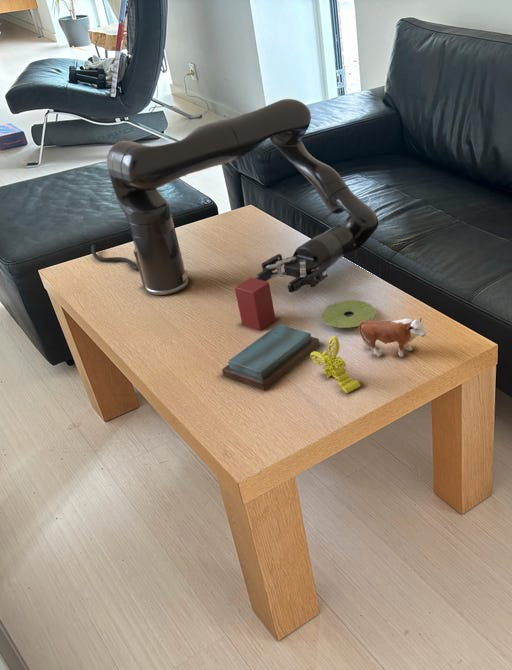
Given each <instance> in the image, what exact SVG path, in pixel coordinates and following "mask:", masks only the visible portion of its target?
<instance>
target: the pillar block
mask: <svg viewBox="0 0 512 670" xmlns="http://www.w3.org/2000/svg"><path fill="white" fill-rule="evenodd" d="M271 290H272V289H271V286H270V282H269V281H268V280H267V281H263V280H259V279H256V277H253V276H252V277H251V276H250V277H248V278H247V279H246V280H244V281H242V282H241V283H239V284H238V285H236V286H234V292H235V296H236V297H235V298H236V302H237V306H238V311H239V316H240V321H241V325H242V326H244V327H248V328H251V329H254V330H258V331H262V330H263V329H264V328H266V327H268V326H269V325H270V324H271V323H273V322H274V321H275V320H276V314H275V308H274V302H273V296H272V291H271Z"/></svg>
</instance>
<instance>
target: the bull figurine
mask: <svg viewBox="0 0 512 670" xmlns="http://www.w3.org/2000/svg"><path fill="white" fill-rule="evenodd" d="M421 321H422V317H419V319H417V318H416V319H414V320H413V319H411V318H403V319H395V320H381V319H371V320H365V321H362V322H361V323H360V324H359V326H358V332H359V335H360V337H361V338H362V341H363V344H364V347H365V348H366V349H367V350H372V352H373V355H374V356H375V355H376V356H377V357H378V358H379V357H382V356H383V354H382V352H381V351H379V350H378V348H377V345H376V341H380V342H382V343H384V345H387V344H391V343H397V344H398V352H397V356H399V357H400V358H405V354H404V352H403V349H404V348H405V350H407V351H408V352H412V351H413V350H414V348H413V347H412V346H411V345H410V343H411V342H413V340H415V339H416V337H420V338H423V337H426V336H427V331H426V330H425V328H424V324H423V323H422V322H421Z"/></svg>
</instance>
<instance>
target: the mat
mask: <svg viewBox="0 0 512 670" xmlns="http://www.w3.org/2000/svg"><path fill="white" fill-rule="evenodd" d="M375 315H376V309H375V307H374V306H373V305H372V304H370V303H369V302H366V301H363V300H362V301H361V300H356V299H353V300H352V299H349V300H347V299H346V300H342V301H337V302H334V303H332V304H330V305H328V306H327V307H325V308H324V309H323V311H322V313H321V320H322V322H324V323H325V324H327V325H328V326H330V327H334V328H339V329H340V328H341V329H342V328H344V329H345V328H346V329H347V328H355V327H356V328H357V327H359V324H360V323H361V322H362V321H365V320H373V319H374V317H375Z"/></svg>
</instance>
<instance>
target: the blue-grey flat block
mask: <svg viewBox="0 0 512 670" xmlns="http://www.w3.org/2000/svg"><path fill="white" fill-rule="evenodd" d="M319 346H320V340H319V338H317V337H314V336H312V333H310V332H308V331H304V330H301V329H297V328H294V327H292V326H287V325H285V324H281V323H278V324H276V325H275V326H274V327H272V328H271V329H270V330H269V331H267V332H266V333H264V334H263V335H261V336H260V337H259V338H257V339H256V340H255V341H253V342H252V343H251V344H249V345H248V346H246V347H245V348H244V349H243V350H241V351H240V352H239V353H237V354H236V355H235V356H233V357H232V358H230V359H229V360H227V361H228V364H227V365H226V366H224V367H223V368H222V369H221V371H222V375H223V377H224V378H226V379H227V378H228V379H231V380H232V381H233V380H234V381H236V382H239V383H242V384H245V385H247V386H250V387H253V388H256V389H260V390H262V391H265V390H267V389H268V388H269V387H270V386H272V385H273V384H274V383H276V381H278V380H279V379H280V378H281V377H283V376H284V375H285V374H286V373H288V372H289V371H290V370H291V369H293V368H294V367H295V366H296V365H297V364H298V363H300V362H301V361H302V360H303V359H305V358H306V357H307V356H309V355H310V354H311V353H312V352H314V351H315V350H316V349H317V348H319Z"/></svg>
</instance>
